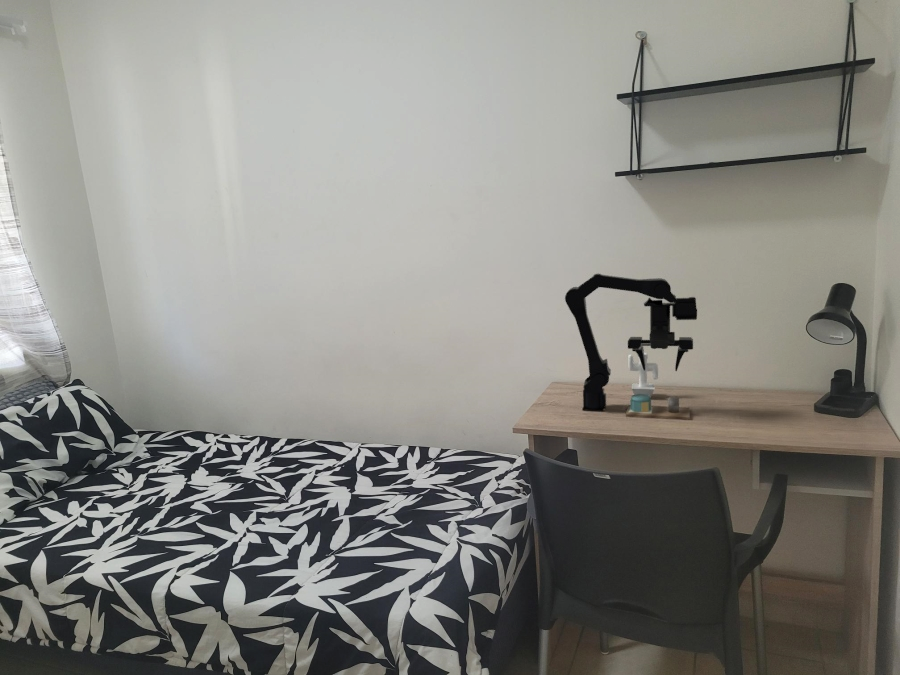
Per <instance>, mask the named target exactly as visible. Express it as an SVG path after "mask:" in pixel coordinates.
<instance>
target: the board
mask: <svg viewBox="0 0 900 675" xmlns="http://www.w3.org/2000/svg"><path fill="white" fill-rule="evenodd" d="M667 400H668V402H667V403H668V404H667V406H662V405H651V410H650V411H649V412H635V411H632V410H631V405H630V404H628V407H627V410H626V413H625V417H626V418H629V417H630V418H643V419H644V418H645V419H662V420H663V419H665V420H682V421H685V420H686V421H690V418H691V417H690V416H691V415H690V407H685V406H684V407H681V406H680V398H679V397H677V396H669V397H668V399H667Z"/></svg>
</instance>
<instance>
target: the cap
mask: <svg viewBox="0 0 900 675" xmlns="http://www.w3.org/2000/svg"><path fill="white" fill-rule="evenodd" d="M629 405H631V410H632V411H635V412H649V411H650V410H651V406H652V399H651V398H650V396H648V395H643V394H637V395H634V394H633V395H631V396H630V403H629Z"/></svg>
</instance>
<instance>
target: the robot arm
mask: <svg viewBox="0 0 900 675" xmlns="http://www.w3.org/2000/svg"><path fill="white" fill-rule="evenodd" d="M598 288H604V289H610V290H619V291H627V292H633V293H638V294H642V295H645V296H648V298H647V300H646V301H644V302H643V306H644V307H649V308H650V309H649V312H650V313H649V314H650V316H649V319H650V320H649V321H650V322H649V324H650V327H649V329H650V330H649V331H650V332H649V339H643V336H630V337H629V338H628V340H627V349H630V350H632V352H635V354H636V355H637V356H638V359H639V358H640V361H641V364H642V367H643V370H645V357H644V352H645V351H644V349H645V348H644V347H649V346H650V348H651V349H654V350H655V349H662V350H666V349H668V348H669V347H678V348H677V354H676V359H675V367H674V369H675V372H677V371H678V369H679V366H680V362H681V360H682V358H683V356H684V354H685V353H688V352H689V351H690V350H694V339H693V337H692V336H691V337H689V336H688V337H687V336H684V337H683V336H680V337H679V339H676V337H675V336H676V334H675V333H676V332H675V331H671V317H672V318H675V320H676V321H695V320H696V321H697V318H698V308H697V298H696V297H695V296H691V297H690V296H689V297H676V296H677V295H675V294H673V292H672V290H671V288H672V287H671V285H670V283H669V282H668V280H666V279H664V278H660V277H658V278H641V279H637V278H631V277H620V276H613V275H606V274H601V273H595V274H593V275H592V276H591V277H590V278H589V279H587V280H586V281H585V282H583V283H582V284H580V285H579V286H573V287H571V288H569V290H568V291H567V292H566V293H565V296H564V301H565V303H566V305H567V307H568V310H569V311H570V312H571V315H572V316H573V317H574V319H575V322H576V325H577V329H578V332H579V334H580V337H581V341H582V344H583V348H584V351H585V355H586V358H587V361H588V362H587V364H588V372H589V373H588V374H589V375H588V376H587V378H586V379H585V380H584V384H583V389H582V397H583V399H582V400H583V401H582V402H583V403H582V405H583V407H581V408H582V411H592V412H603V411H604V410H605V408H606V407H607V393H606V392H605V388H604V387H605V386H607V385H608V383H609V380H610V376H611V374H612V373H611V371H612V369H611V368H610V367H609V363H608V358H605V359H603V358H602V356H601V354H600V352H599V348H598V345H597V342H596V339H595V335H594V332H593V329H592V326H591V322H590V320H589V317H588V311H587V301H586V300H587V299H586V298H587V297H588V296H589V295H591V294H592V293H593V292H595V291H596V290H597V289H598ZM651 298H653V299H651ZM663 300H665V301H667V302H663ZM671 308H672V309H671Z"/></svg>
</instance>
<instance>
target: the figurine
mask: <svg viewBox="0 0 900 675" xmlns="http://www.w3.org/2000/svg"><path fill="white" fill-rule="evenodd" d="M627 356H628V357H627V358H628V360H627V362H628V363H627V364H628V370H629V371H631V372H638V373H639V374H638V376H639V377H638V378H639V381H638V383H637V382H633V383H632V384H631V391H632V392H633V395H637V394H643V395H648V396H650V399H651V398H652V395H653V393H654V391H655V389H656V388H655V385H656V384H655V383H648V372H652V378H653V380H658V379H659V367H658V366H659V365H658V364H657V363H656V362H648V352H645V351H644V357H645V370H643V367H642V364H641V361H640V358H639V357H638V362H634V355H633V354H628V355H627Z"/></svg>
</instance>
